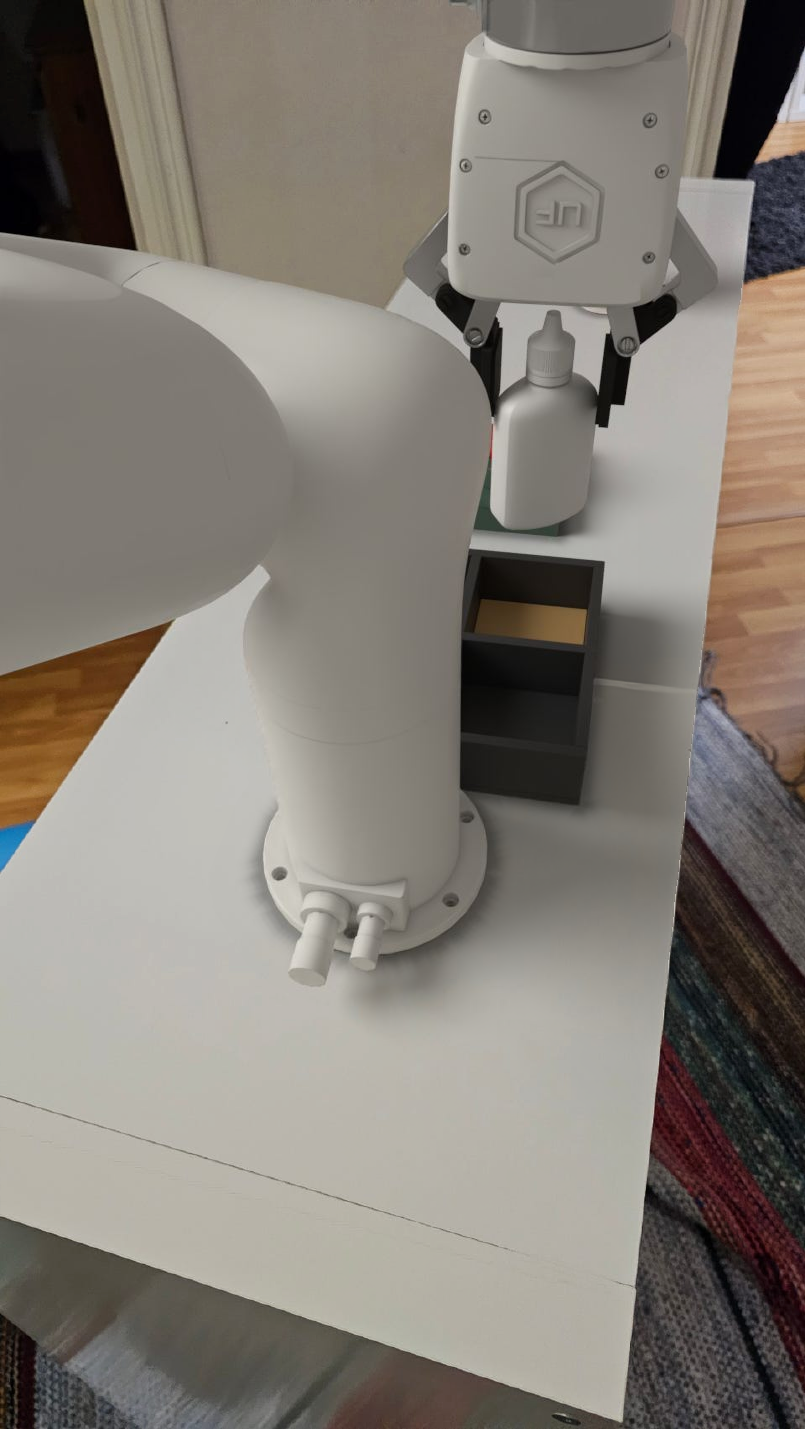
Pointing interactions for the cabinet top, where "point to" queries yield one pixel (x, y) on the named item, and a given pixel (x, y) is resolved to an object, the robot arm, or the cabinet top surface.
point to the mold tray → (527, 673)
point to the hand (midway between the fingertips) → (546, 407)
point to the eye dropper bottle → (543, 435)
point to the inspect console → (489, 521)
